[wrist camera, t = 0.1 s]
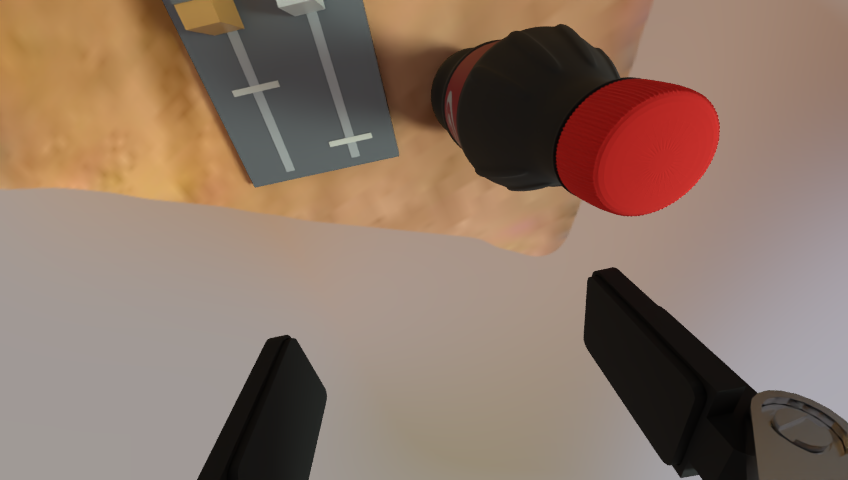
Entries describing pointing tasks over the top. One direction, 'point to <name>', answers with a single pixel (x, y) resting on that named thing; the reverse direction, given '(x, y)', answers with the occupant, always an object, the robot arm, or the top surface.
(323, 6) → the fader white
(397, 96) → the top surface
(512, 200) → the top surface
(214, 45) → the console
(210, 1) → the fader orange
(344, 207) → the top surface
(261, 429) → the robot arm
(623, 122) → the cola bottle
